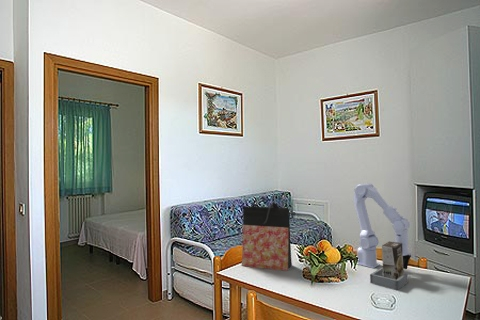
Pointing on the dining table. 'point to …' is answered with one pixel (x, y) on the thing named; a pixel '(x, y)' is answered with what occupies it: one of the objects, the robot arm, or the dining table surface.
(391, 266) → the coffee box
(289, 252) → the gift bag
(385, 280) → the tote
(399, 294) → the dining table surface
